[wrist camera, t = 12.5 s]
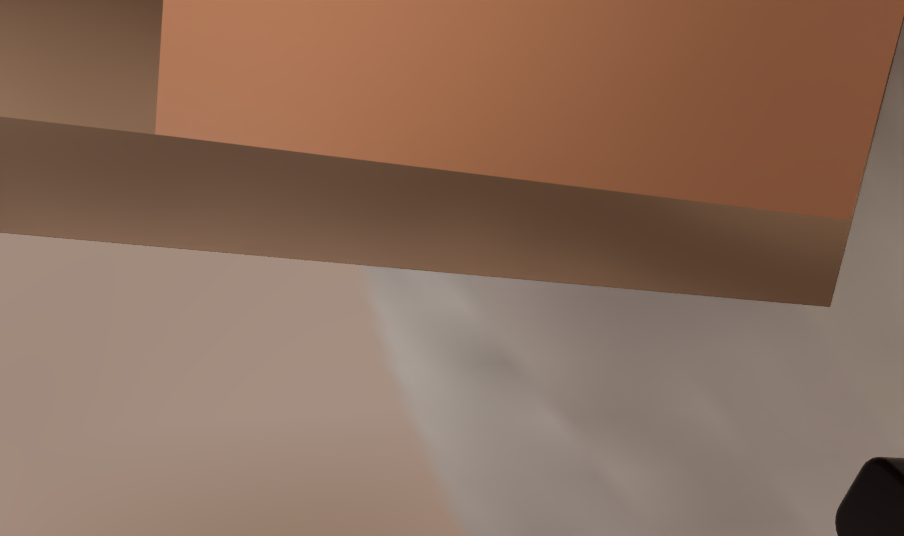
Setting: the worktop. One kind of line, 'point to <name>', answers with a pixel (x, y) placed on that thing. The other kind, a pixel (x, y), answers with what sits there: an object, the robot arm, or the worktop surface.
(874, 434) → the worktop surface
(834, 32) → the clip
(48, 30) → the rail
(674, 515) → the worktop surface
